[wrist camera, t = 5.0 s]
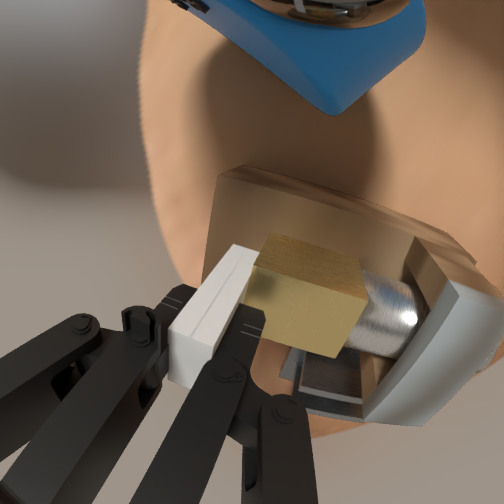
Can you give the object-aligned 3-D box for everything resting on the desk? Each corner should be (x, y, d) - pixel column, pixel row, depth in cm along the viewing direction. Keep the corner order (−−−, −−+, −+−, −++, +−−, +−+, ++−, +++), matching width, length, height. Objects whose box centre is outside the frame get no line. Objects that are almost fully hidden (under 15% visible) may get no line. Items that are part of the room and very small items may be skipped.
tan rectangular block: (255, 286, 16) (236, 328, 13) (270, 231, 14) (253, 265, 11) (335, 311, 16) (335, 358, 12) (358, 259, 14) (368, 300, 10)
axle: (334, 311, 16) (333, 360, 12) (361, 255, 14) (370, 298, 10) (454, 344, 14) (468, 385, 11) (484, 300, 12) (508, 340, 9)
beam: (224, 263, 22) (154, 358, 12) (243, 165, 18) (154, 202, 9) (466, 333, 19) (502, 423, 9) (507, 262, 15) (573, 338, 6)
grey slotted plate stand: (306, 310, 22) (298, 362, 17) (398, 335, 21) (410, 386, 15) (280, 369, 25) (268, 417, 20) (360, 388, 24) (360, 435, 19)
